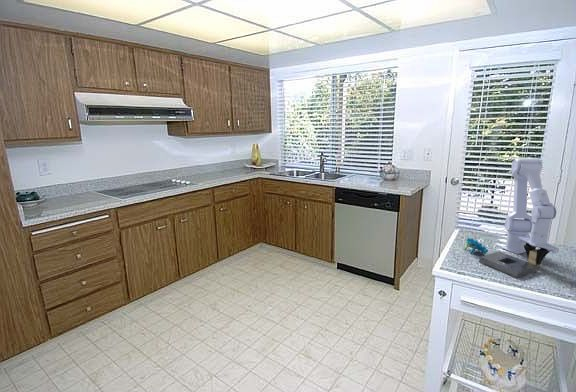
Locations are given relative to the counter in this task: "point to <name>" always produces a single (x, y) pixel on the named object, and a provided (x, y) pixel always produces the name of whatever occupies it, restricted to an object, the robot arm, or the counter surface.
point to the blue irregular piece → (475, 246)
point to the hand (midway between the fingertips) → (534, 262)
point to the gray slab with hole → (512, 268)
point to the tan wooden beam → (533, 257)
